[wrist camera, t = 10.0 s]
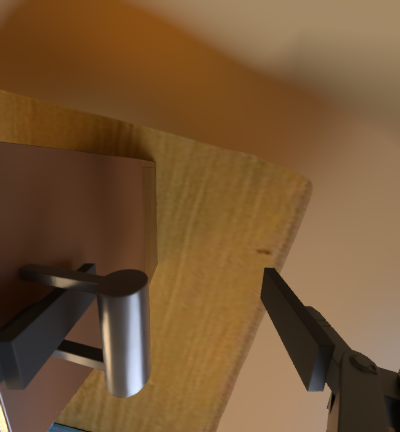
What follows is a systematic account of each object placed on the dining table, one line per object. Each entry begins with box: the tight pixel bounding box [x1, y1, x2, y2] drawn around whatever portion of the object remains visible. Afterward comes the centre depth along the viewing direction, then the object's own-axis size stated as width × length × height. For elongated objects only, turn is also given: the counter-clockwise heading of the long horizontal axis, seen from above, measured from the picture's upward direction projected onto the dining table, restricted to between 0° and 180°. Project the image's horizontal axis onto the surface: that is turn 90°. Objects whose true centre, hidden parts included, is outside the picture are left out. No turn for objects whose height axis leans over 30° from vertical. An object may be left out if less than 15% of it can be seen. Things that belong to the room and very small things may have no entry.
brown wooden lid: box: [0, 142, 151, 432], centre depth 16 cm, size 16×19×8 cm
